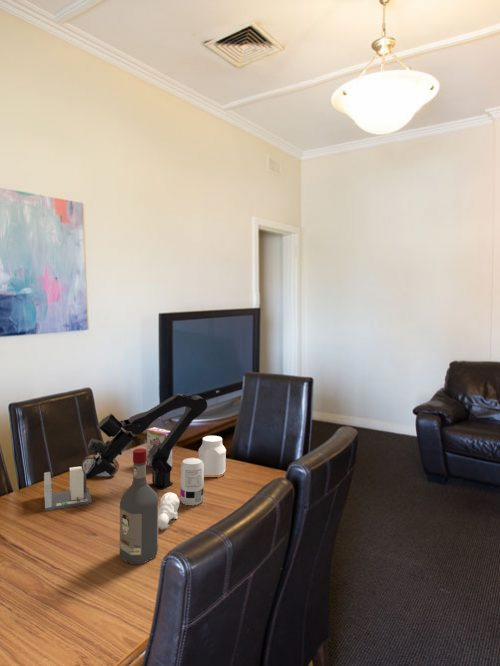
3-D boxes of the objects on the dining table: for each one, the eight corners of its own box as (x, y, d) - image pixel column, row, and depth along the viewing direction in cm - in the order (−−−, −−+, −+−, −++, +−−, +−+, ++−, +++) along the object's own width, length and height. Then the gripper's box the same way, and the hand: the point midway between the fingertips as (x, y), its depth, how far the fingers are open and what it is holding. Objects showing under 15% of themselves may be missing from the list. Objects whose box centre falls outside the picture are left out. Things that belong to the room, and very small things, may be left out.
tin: (119, 475, 183) (119, 455, 183) (116, 478, 180) (116, 458, 179) (84, 473, 185) (84, 453, 184) (80, 476, 181) (80, 456, 181)
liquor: (142, 542, 132) (143, 443, 130) (162, 554, 126) (163, 450, 125) (115, 555, 125) (115, 450, 123) (135, 568, 119) (136, 458, 117)
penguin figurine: (180, 490, 149) (170, 510, 137) (181, 514, 150) (170, 535, 138) (162, 489, 150) (150, 508, 138) (162, 512, 151) (150, 533, 139)
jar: (196, 477, 183) (197, 441, 182) (199, 469, 192) (200, 434, 192) (224, 478, 183) (225, 442, 182) (226, 469, 192) (226, 435, 192)
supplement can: (175, 503, 158) (176, 462, 158) (189, 495, 166) (189, 455, 165) (194, 509, 155) (195, 466, 154) (207, 500, 162) (208, 459, 161)
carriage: (84, 489, 166) (84, 465, 165) (87, 501, 156) (87, 475, 156) (69, 491, 163) (69, 467, 163) (71, 503, 154) (71, 478, 153)
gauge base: (88, 490, 168) (88, 466, 168) (91, 503, 157) (91, 478, 157) (44, 496, 162) (44, 472, 161) (45, 511, 151) (44, 485, 150)
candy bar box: (145, 466, 194) (146, 429, 193) (153, 463, 199) (154, 426, 198) (164, 471, 188) (165, 433, 187) (172, 468, 193) (173, 430, 192)
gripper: (98, 424, 171) (67, 456, 167) (105, 438, 155) (71, 473, 151) (119, 442, 175) (89, 474, 171) (128, 457, 159) (95, 492, 154)
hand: (86, 478), depth 162 cm, fingers closed, pressing on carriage
